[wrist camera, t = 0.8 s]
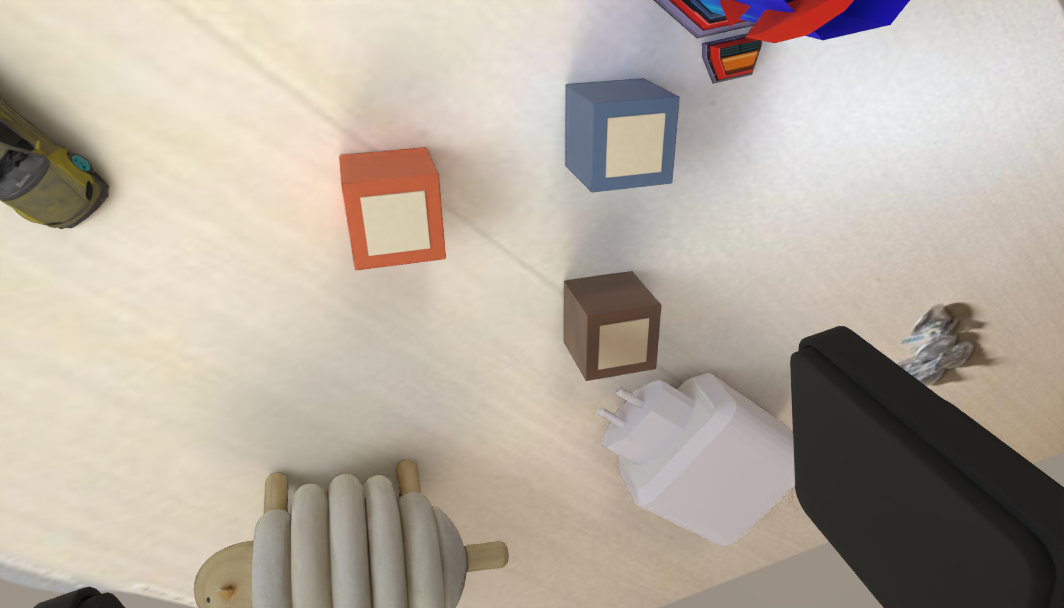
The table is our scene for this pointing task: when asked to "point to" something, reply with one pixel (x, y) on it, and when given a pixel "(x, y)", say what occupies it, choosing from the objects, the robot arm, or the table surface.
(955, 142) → the table surface
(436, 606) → the toy sheep
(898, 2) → the fantasy tower
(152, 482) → the table surface
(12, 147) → the race car
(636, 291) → the walnut block
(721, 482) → the charger
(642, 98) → the slate block
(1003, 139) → the table surface
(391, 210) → the terracotta block
